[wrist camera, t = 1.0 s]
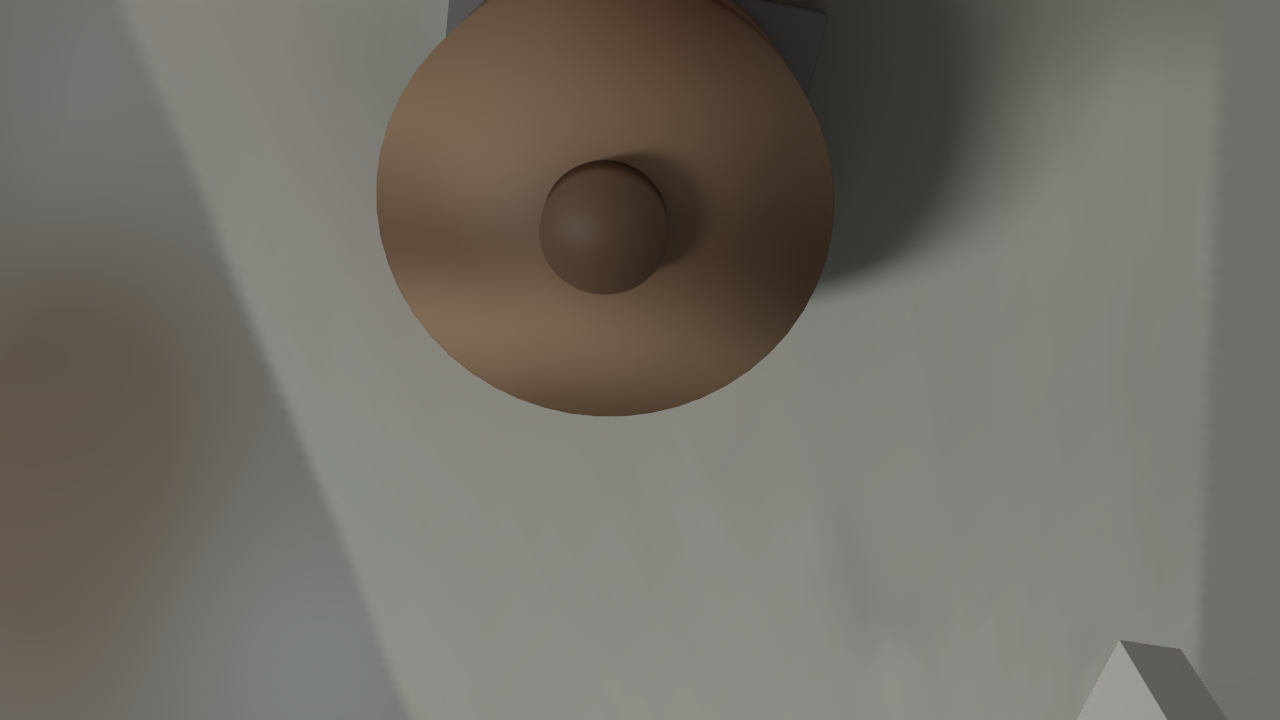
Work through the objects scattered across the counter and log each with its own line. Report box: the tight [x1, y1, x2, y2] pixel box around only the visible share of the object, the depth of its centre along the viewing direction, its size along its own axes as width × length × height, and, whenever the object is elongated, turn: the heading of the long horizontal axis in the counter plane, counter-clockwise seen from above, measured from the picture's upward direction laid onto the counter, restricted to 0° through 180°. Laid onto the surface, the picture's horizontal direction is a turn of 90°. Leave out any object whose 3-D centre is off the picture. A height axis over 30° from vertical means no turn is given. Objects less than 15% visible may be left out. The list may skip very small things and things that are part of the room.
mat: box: [446, 0, 828, 98], centre depth 29 cm, size 10×10×1 cm
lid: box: [377, 0, 834, 416], centre depth 26 cm, size 11×11×6 cm
